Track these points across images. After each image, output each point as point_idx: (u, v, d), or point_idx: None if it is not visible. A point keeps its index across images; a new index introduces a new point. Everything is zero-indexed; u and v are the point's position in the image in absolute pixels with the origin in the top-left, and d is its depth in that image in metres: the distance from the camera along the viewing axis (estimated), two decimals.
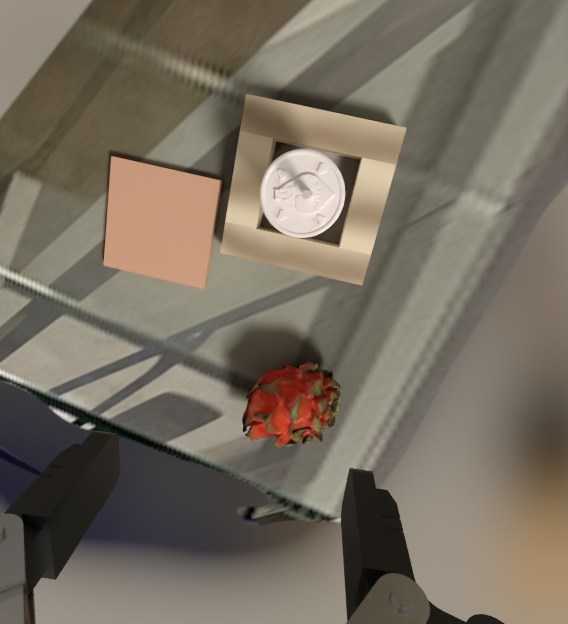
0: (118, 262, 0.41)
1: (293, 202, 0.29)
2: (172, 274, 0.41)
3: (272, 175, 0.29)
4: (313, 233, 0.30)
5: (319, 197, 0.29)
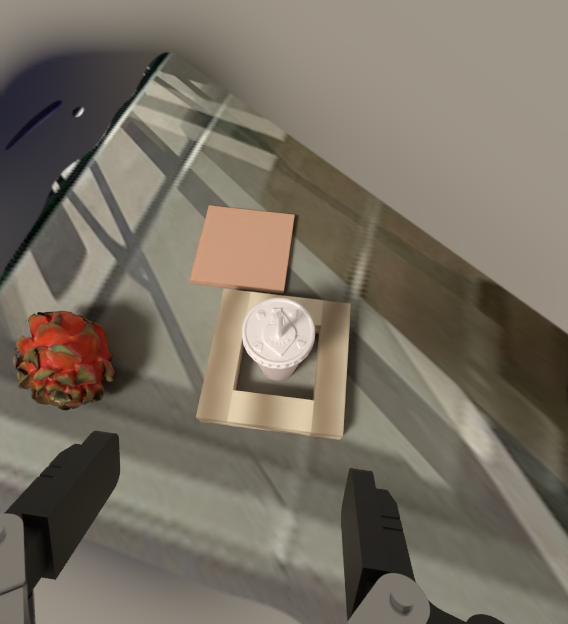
0: (211, 215, 0.50)
1: (271, 323, 0.34)
2: (202, 255, 0.47)
3: (291, 306, 0.35)
4: (246, 342, 0.33)
5: (277, 343, 0.33)
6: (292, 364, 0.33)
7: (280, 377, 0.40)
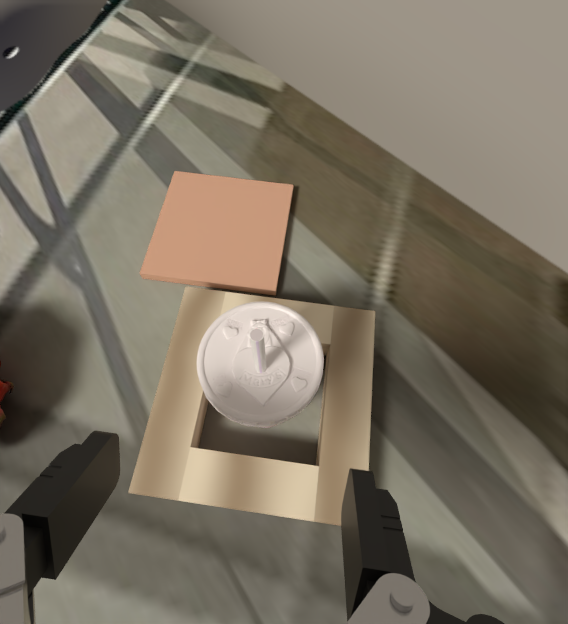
0: (177, 184, 0.36)
1: (248, 345, 0.20)
2: (160, 238, 0.33)
3: (284, 316, 0.21)
4: (203, 379, 0.19)
5: (257, 382, 0.19)
6: (283, 419, 0.19)
7: (266, 426, 0.25)
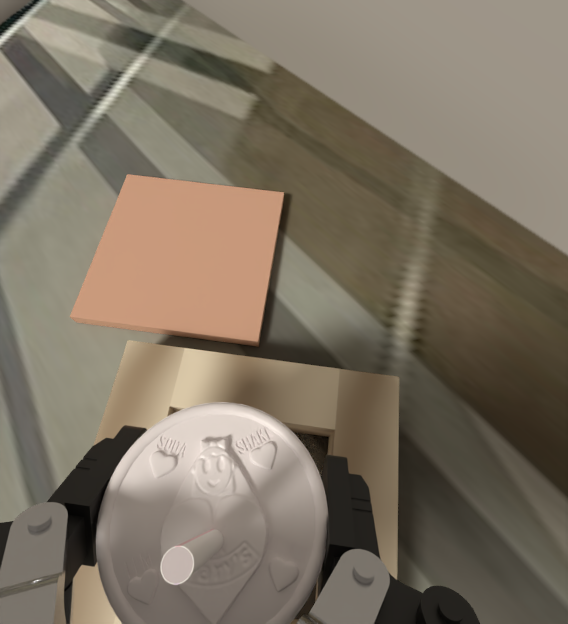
0: (129, 192, 0.27)
1: (192, 494, 0.11)
2: (102, 266, 0.24)
3: (259, 431, 0.12)
4: (104, 566, 0.10)
5: (205, 575, 0.10)
6: None
7: None
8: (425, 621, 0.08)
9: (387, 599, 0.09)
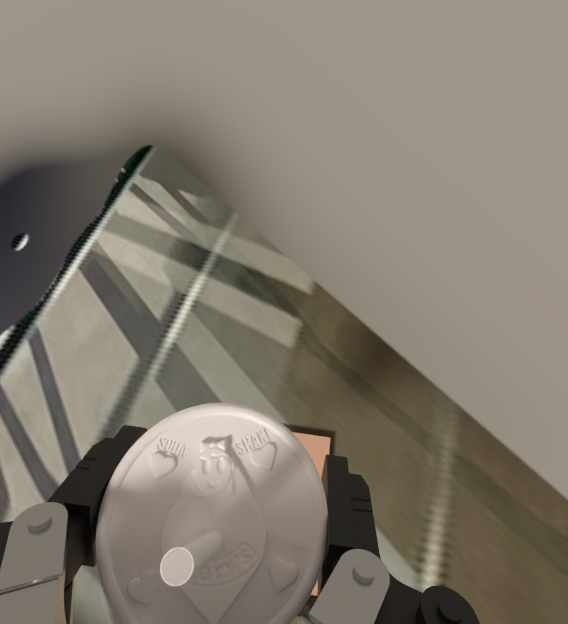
0: None
1: (192, 495, 0.11)
2: None
3: (259, 432, 0.12)
4: (104, 567, 0.10)
5: (204, 576, 0.10)
6: None
7: None
8: (425, 621, 0.08)
9: (387, 599, 0.09)
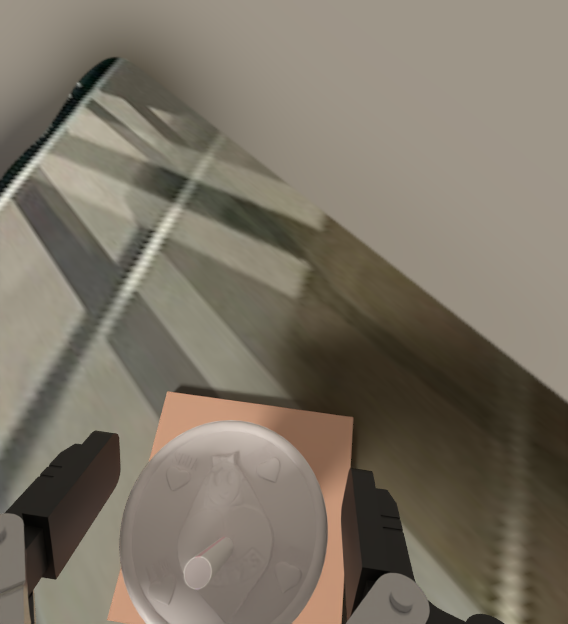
0: (171, 420, 0.23)
1: (205, 505, 0.12)
2: None
3: (264, 447, 0.13)
4: (127, 570, 0.11)
5: (217, 578, 0.11)
6: None
7: None
8: None
9: None
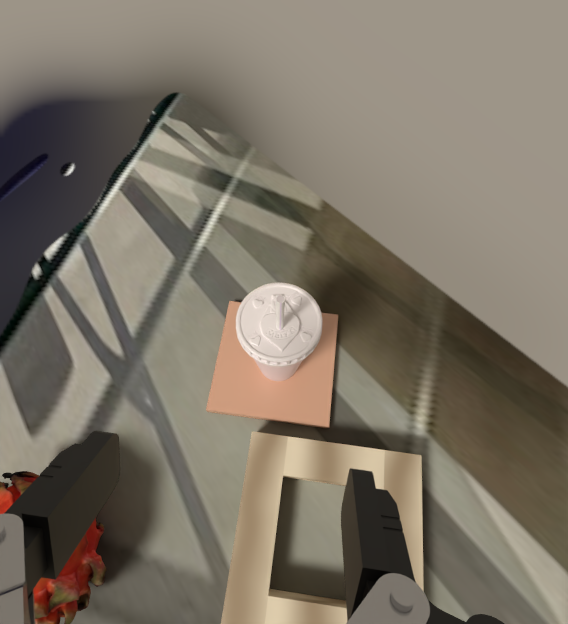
0: (233, 315, 0.39)
1: (271, 312, 0.29)
2: (222, 373, 0.37)
3: (294, 292, 0.30)
4: (240, 334, 0.28)
5: (277, 335, 0.28)
6: (295, 361, 0.28)
7: (280, 377, 0.34)
8: None
9: None
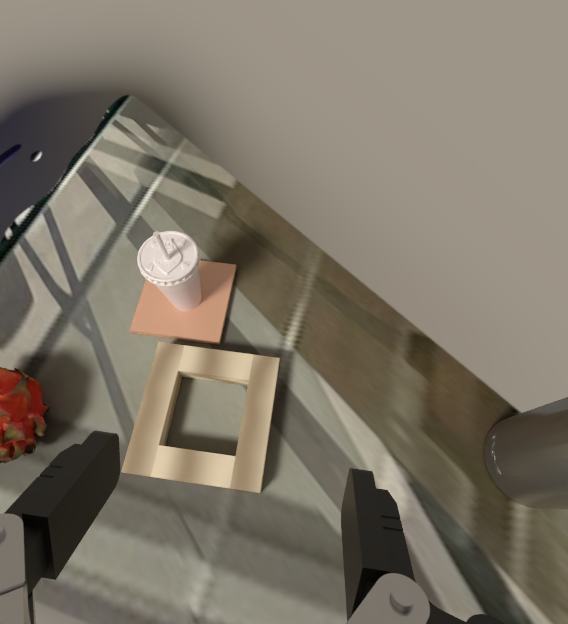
0: None
1: None
2: (143, 305, 0.49)
3: (181, 237, 0.42)
4: (139, 264, 0.40)
5: (165, 265, 0.40)
6: (177, 282, 0.41)
7: (182, 305, 0.47)
8: None
9: None
